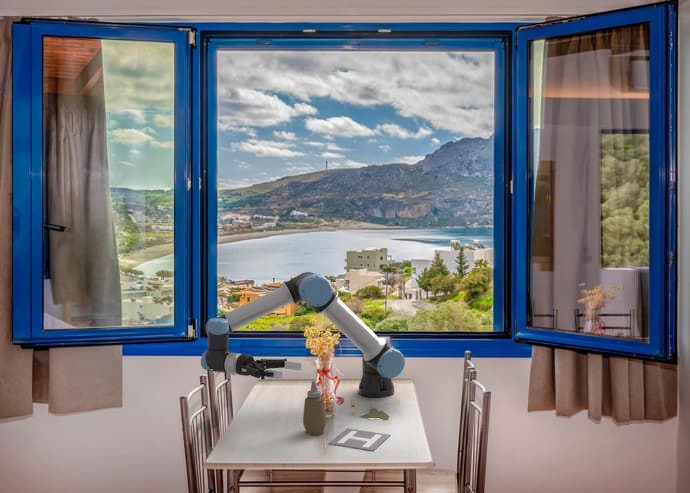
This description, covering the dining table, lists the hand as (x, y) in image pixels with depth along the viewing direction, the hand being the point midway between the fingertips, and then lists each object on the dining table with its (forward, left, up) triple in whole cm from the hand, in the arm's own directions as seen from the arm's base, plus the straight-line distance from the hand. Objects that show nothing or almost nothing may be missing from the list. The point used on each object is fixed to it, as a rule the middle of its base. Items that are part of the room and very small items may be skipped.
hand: (292, 370), depth 210 cm
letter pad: (0, +26, -21) cm, 33 cm away
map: (-22, +22, -21) cm, 38 cm away
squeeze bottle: (0, +9, -21) cm, 23 cm away
